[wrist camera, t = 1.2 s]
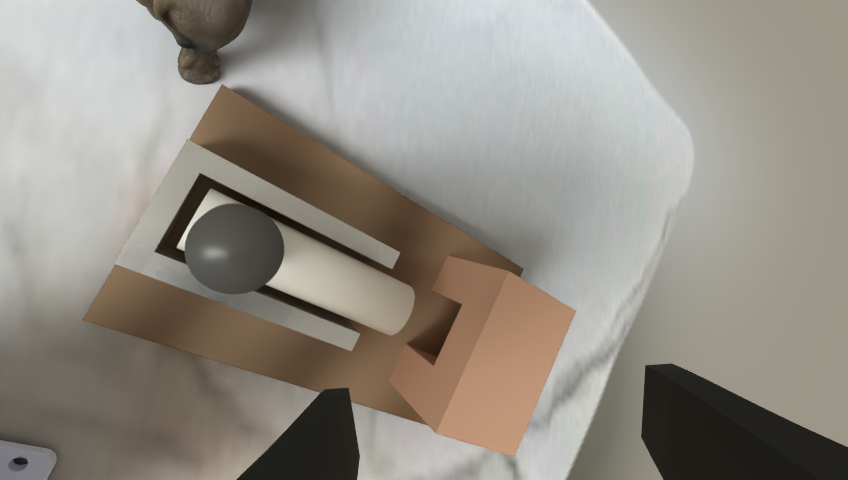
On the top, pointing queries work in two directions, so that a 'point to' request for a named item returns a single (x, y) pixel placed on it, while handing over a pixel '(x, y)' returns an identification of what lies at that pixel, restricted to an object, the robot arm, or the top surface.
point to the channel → (196, 162)
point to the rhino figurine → (200, 31)
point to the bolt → (288, 265)
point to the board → (272, 343)
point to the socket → (485, 357)
